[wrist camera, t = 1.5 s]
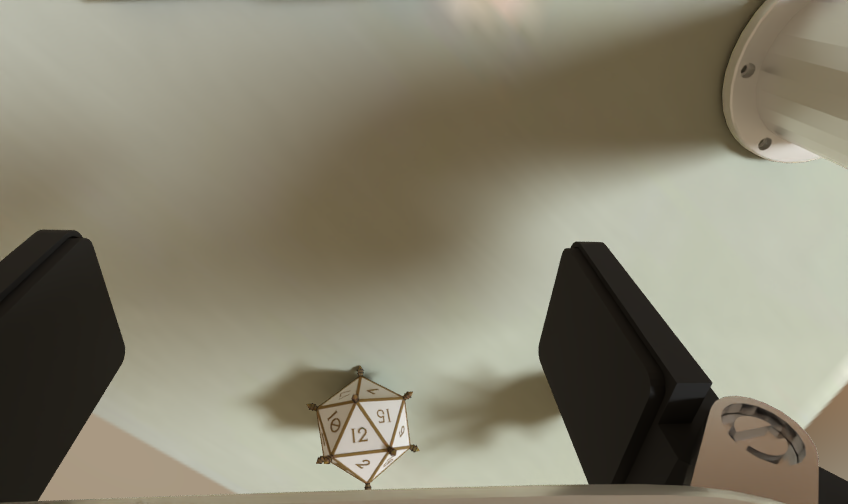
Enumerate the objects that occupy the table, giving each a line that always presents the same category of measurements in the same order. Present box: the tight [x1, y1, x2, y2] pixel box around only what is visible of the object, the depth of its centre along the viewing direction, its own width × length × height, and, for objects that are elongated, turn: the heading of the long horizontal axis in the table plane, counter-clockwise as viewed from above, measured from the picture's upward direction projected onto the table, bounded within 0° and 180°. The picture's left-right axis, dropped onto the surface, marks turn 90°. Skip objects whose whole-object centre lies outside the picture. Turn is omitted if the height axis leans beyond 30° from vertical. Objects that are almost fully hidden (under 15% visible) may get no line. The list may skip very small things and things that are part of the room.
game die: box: [307, 366, 420, 490], centre depth 40 cm, size 9×8×10 cm
